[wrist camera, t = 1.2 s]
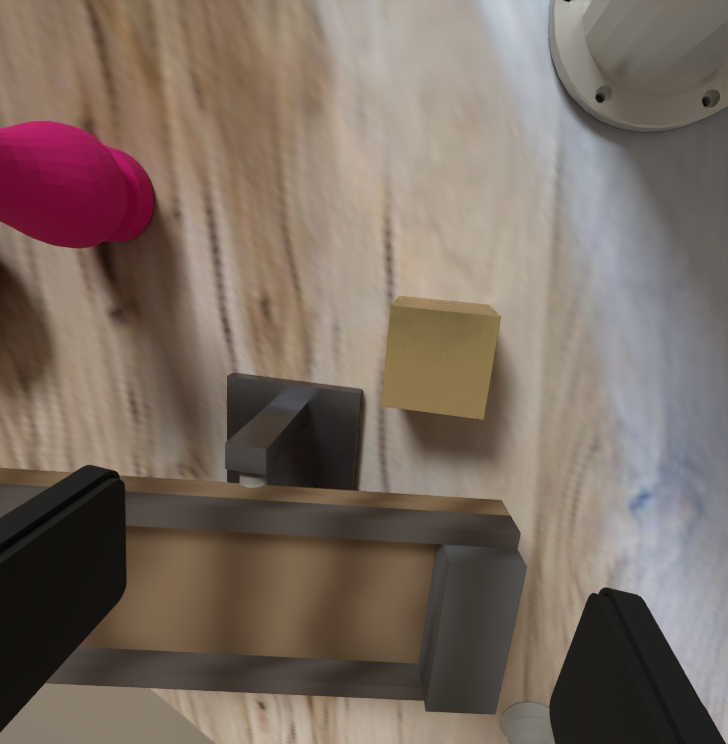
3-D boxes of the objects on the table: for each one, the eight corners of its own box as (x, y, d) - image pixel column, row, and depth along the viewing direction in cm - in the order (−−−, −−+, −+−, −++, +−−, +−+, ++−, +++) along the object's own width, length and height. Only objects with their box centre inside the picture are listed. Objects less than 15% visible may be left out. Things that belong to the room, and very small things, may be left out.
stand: (362, 389, 32) (334, 439, 24) (343, 611, 38) (314, 719, 29) (233, 372, 34) (161, 414, 25) (232, 589, 39) (173, 686, 30)
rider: (488, 304, 30) (500, 316, 24) (474, 389, 31) (483, 419, 26) (399, 295, 30) (391, 305, 25) (390, 379, 32) (380, 406, 26)
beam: (496, 482, 28) (532, 541, 22) (466, 647, 31) (490, 733, 26) (5, 450, 27) (-88, 503, 21) (31, 624, 30) (-43, 710, 25)
